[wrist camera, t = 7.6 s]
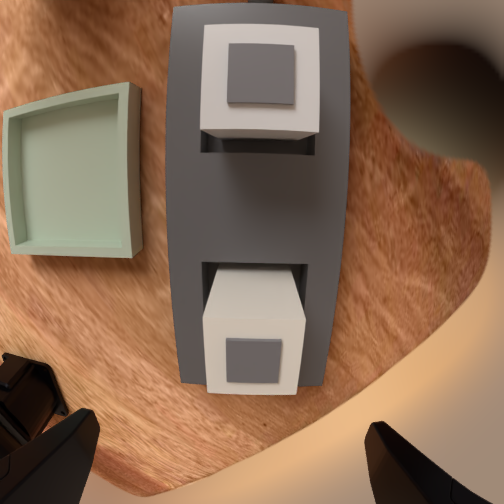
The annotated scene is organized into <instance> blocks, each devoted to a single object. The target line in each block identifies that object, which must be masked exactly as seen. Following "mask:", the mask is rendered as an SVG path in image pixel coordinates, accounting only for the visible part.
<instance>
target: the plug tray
mask: <svg viewBox="0 0 504 504" xmlns="http://www.w3.org/2000/svg"><path fill="white" fill-rule="evenodd" d="M140 106H141V88H140V87H138V86H136V85H134V84H133V83H131V82H124V83H117V84H111V85H105V86H99V87H94V88H89V89H84V90H79V91H75V92H70V93H66V94H62V95H57V96H53V97H50V98H46V99H42V100H38V101H35V102H31V103H28V104H25V105H21V106H18V107H15V108H12V109H9V110H6V111H4V114H3V138H2V162H3V186H4V200H5V211H6V220H7V228H8V235H9V242H10V248H11V254H29V255H55V256H83V257H113V258H133V257H134V256H135V255H136V254H137V253H138V252H140V251H141V250H142V249H143V237H142V221H141V200H140Z"/></svg>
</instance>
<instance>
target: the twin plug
mask: <svg viewBox="0 0 504 504" xmlns="http://www.w3.org/2000/svg"><path fill="white" fill-rule="evenodd" d="M319 108H320V63H319V28H312V27H302V26H289V25H273V24H213V25H204V41H203V58H202V79H201V107H200V130H202V131H204V132H206V133H208V134H210V135H212V136H214V137H216V138H218V139H220V140H263V141H288V142H294V141H297V140H300V139H302V138H305V137H308V136H311V135H313V134H316V133H319Z"/></svg>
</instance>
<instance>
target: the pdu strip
mask: <svg viewBox="0 0 504 504" xmlns="http://www.w3.org/2000/svg"><path fill="white" fill-rule="evenodd" d="M213 24H273V25H289V26H302V27H312V28H319V63H320V108H319V133H316V134H313V135H311V136H308V137H305V138H302V139H300V140H297V141H294V142H288V141H263V140H220V139H218V138H216V137H214V136H212V135H210V134H208V133H206V132H204V131H202V130H200V107H201V79H202V58H203V41H204V25H213ZM349 147H350V55H349V33H348V17H347V12H346V11H340V10H333V9H326V8H319V7H310V6H300V5H288V4H273V0H248V3H217V4H200V5H188V6H178V7H174V9H173V18H172V28H171V39H170V51H169V65H168V82H167V104H166V155H165V164H166V216H167V239H168V257H169V272H170V286H171V298H172V309H173V319H174V329H175V338H176V347H177V355H178V363H179V371H180V378H181V383H189V384H203V385H207V380H206V366H205V351H204V335H203V314H204V311H205V308H206V304H207V301H208V298H209V295H210V291H211V288H212V285H213V282H214V278H215V275H216V272H217V269H218V266H219V263H220V262H236V263H282V264H289V266H290V269H291V272H292V275H293V279H294V282H295V285H296V288H297V292H298V295H299V298H300V301H301V305H302V308H303V311H304V315H305V318H306V324H305V332H304V341H303V349H302V356H301V364H300V371H299V378H298V385H297V386H322V383H323V378H324V373H325V368H326V362H327V356H328V351H329V345H330V339H331V333H332V326H333V320H334V313H335V306H336V299H337V291H338V284H339V276H340V267H341V258H342V249H343V239H344V228H345V216H346V203H347V188H348V171H349Z"/></svg>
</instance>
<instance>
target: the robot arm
mask: <svg viewBox="0 0 504 504" xmlns="http://www.w3.org/2000/svg"><path fill="white" fill-rule="evenodd" d="M2 358H3V361H4V362H3V363H2V364H1V366H0V504H79V502H80V499H81V496H82V493H83V490H84V487H85V484H86V481H87V478H88V476H89V473H90V470H91V467H92V463H93V459H94V454H95V450H96V445H97V441H98V437H99V433H100V426H99V423H98V421H97V418H96V416H95V413H94V411H93V410H90V409H86V408H81V409H79V410H77V411H76V412H74V413H73V414H71V415H70V416H68V417H67V418H65V419H64V420H62V421H61V422H59V423H58V424H56V425H55V426H53V427H51V428H50V429H48V430H47V431H45V432H44V433H42V432H43V430H44V429H45V427H46V426H47V424H48V422H49V421H50V419H51V418H52V416H53V415H54V413H55V414H58V415H61V416H65V417H66V416H67V415H68V413H69V412H68V409H67V407H66V405H65V403H64V400H63V398H62V396H61V393H60V391H59V388H58V386H57V383H56V381H55V378H54V376H53V373H52V370H51V368H50V366H49V365H48V364H46V363H42V362H38V361H34V360H31V359H27V358H23V357H20V356H16V355H13V354H9V353H4V354H3V355H2ZM364 443H365V450H366V457H367V464H368V471H369V477H370V483H371V487H372V491H373V495H374V498H375V502H376V504H492V503H490V502H489V501H487V500H485V499H483V498H482V497H480V496H478V495H477V494H475V493H473V492H472V491H470V490H469V489H467V488H466V487H465V486H463V485H462V484H460V483H459V482H458V481H457V480H455V479H454V478H452V476H450V475H449V474H448V473H446V472H445V471H444V470H443V469H441V468H440V467H439V466H438V465H436V464H435V463H434V462H433V461H431V460H430V459H429V458H427V457H426V456H425V455H424V454H423V453H421V452H420V451H419V450H418V449H417V448H415V447H414V446H413V445H412V444H411V443H409V442H408V441H407V440H406V439H404V438H403V437H402V436H401V435H400V434H398V433H397V432H396V431H395V430H394V429H392V428H391V427H390V426H389V425H388V424H387V423H385V422H384V421H379V422H373V423H371V425H370V427H369V429H368V432H367V434H366V437H365V442H364Z"/></svg>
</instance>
